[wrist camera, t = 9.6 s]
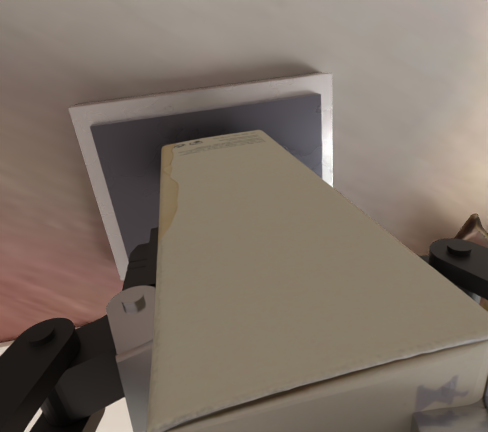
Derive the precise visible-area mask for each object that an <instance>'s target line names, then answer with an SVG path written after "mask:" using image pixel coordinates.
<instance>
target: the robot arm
mask: <svg viewBox="0 0 488 432" xmlns="http://www.w3.org/2000/svg"><path fill="white" fill-rule="evenodd" d="M158 230H159V227H157V228H151V232H150V240H149V243H145V244H140V245H137V246H136V248H135V249H134V250H133V251H132V252H131V253H130V257H129V264H128V266H127V271H126V275H125V280H124V285H123V289H122V292H120V293H118V294H117V295H116V296H114V297H113V298H112V299H111V300H110V301H109V303H108V305H107V308H106V312H107V315H105V316H104V317H102V318H100V319H98V320H96V321H94V322H92V323H89V324H87V325H84V326H82V327H80V328H77V329H75V327H74V324H73V322H72V321H71V320H69V319H66V318H54V319H49V320H45V321H43V322H40V323H38V324H36V325H34V326H32V327H30V328H29V329H27V330H26V331H24V332H23V333H22V334H21V335H20V336H19V337H18V338H17V339H16V340H15V341H14V342H13V343H12V344H11V345H10V346H9V347H8V348H7V349H6V350H5V351H4V353H3V354H2V355H1V356H0V432H24V431H25V429H26V427H27V426H28V424H29V423H30V422H31V420H32V419H33V417H34V416H35V414H36V413H37V411H38V410H39V408H41V410H42V414H41V415H40V417H39V418H38V419H37V421H36V422H35V424H34V425H33V427H32V428H31V430H30V431H29V432H95V431H96V429H97V427H98V425H99V423H100V421H101V419H102V417H103V415H104V413H105V408H106V407H107V406H109V405H111V404H113V403H114V402H116V401H118V400H120V399H122V398H124V397H125V399H126V403H127V408H128V412H129V416H130V420H131V424H132V428H133V432H147V418H148V404H149V391H150V378H151V364H152V349H153V335H154V314H155V294H156V272H157V253H158ZM419 257H420V258H421V259H422V260H424V261H425V262H426V263H428V264H429V265H430V266H431V267H433V268H434V269H435V270H437V271H438V272H439V273H440V274H442V275H443V276H444V277H445V278H447V279H448V280H449V281H450V282H452V283H453V284H454V285H455V286H457V287H458V288H459V289H460V290H462V291H463V292H464V293H465V294H467V295H468V296H469V297H470V298H472V299H473V300H474V301H475V302H476V303H478V304H480V299H481V297H482V298H484V299H486V300H488V248H486V247H484V246H481V245H479V244H476V243H473V242H470V241H467V240H462V239H441V240H438V241H435V242H433V243H432V244H431V246H430V253H429V256H419ZM410 432H488V396H483V397H482V398H481V399H480V400H479V401H478V402H475V403H473V404H470V405H465V406H458V407H448V408H439V409H433V410H426V411H420V412H414V413H413V414H412V421H411V429H410Z"/></svg>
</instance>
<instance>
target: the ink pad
mask: <svg viewBox="0 0 488 432" xmlns="http://www.w3.org/2000/svg"><path fill="white" fill-rule="evenodd" d="M68 110H69V113H70V116H71V119H72V123H73V126H74V129H75V132H76V136H77V139H78V142H79V145H80V149H81V152H82V155H83V158H84V162H85V165H86V168H87V171H88V175H89V178H90V181H91V184H92V188H93V191H94V194H95V197H96V201H97V204H98V207H99V210H100V214H101V217H102V220H103V223H104V227H105V230H106V233H107V236H108V240H109V243H110V246H111V249H112V253H113V256H114V259H115V262H116V266H117V269H118V272H119V275H120V279H121V281H122V280H125V275H126V271H127V266H128V264H129V257H130V253H131V252H132V251H133V250H134V249H135V248H136V246H137V245H140V244H145V243H149V240H150V232H151V228H157V227H159V209H160V178H161V149H162V147H163V146H165V145H170V144H175V143H180V142H185V141H190V140H196V139H201V138H207V137H214V136H220V135H226V134H233V133H240V132H248V131H255V130H261V131H263V132H264V133H266V134H267V135H268V136H270V137H271V138H272V139H273V140H274V141H276V142H277V143H278V144H279V145H281V146H282V147H283V148H284V149H285V150H287V151H288V152H289V153H290V154H292V155H293V156H294V157H296V158H297V159H298V160H299V161H300V162H302V163H303V164H304V165H306V166H307V167H308V168H309V169H310V170H312V171H313V172H314V173H315V174H317V175H318V176H319V177H320V178H321V179H323V180H324V181H325V182H326V183H328V184H329V185H330V186H332V187H333V151H332V73H324V72H319V73H312V74H304V75H296V76H289V77H281V78H274V79H266V80H258V81H251V82H243V83H235V84H228V85H220V86H213V87H205V88H197V89H190V90H182V91H175V92H167V93H159V94H152V95H144V96H136V97H129V98H121V99H114V100H106V101H98V102H91V103H83V104H76V105H74V106H72V107H69V108H68Z"/></svg>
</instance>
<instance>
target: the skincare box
mask: <svg viewBox="0 0 488 432" xmlns="http://www.w3.org/2000/svg"><path fill="white" fill-rule="evenodd" d="M483 396H488V312H487V311H486V310H485V309H484V308H483V307H481V306H480V305H479V304H478V303H476V302H475V301H474V300H473V299H472V298H470V297H469V296H468V295H467V294H465V293H464V292H463V291H462V290H460V289H459V288H458V287H457V286H455V285H454V284H453V283H452V282H450V281H449V280H448V279H447V278H445V277H444V276H443V275H442V274H440V273H439V272H438V271H437V270H435V269H434V268H433V267H431V266H430V265H429V264H428V263H426V262H425V261H424V260H422V259H421V258H420V257H419V256H417V255H416V254H415V253H414V252H412V251H411V250H410V249H409V248H407V247H406V246H405V245H403V244H402V243H401V242H400V241H399V240H397V239H396V238H395V237H394V236H392V235H391V234H390V233H389V232H387V231H386V230H385V229H384V228H383V227H381V226H380V225H379V224H378V223H377V222H375V221H374V220H373V219H371V218H370V217H369V216H367V215H366V214H365V213H364V212H363V211H362V210H361V209H359V208H358V207H357V206H355V205H354V204H353V203H352V202H350V201H349V200H348V199H347V198H346V197H344V196H343V195H342V194H340V193H339V192H338V191H337V190H335V189H334V188H333V187H332V186H330V185H329V184H328V183H326V182H325V181H324V180H323V179H321V178H320V177H319V176H318V175H317V174H315V173H314V172H313V171H312V170H310V169H309V168H308V167H307V166H306V165H304V164H303V163H302V162H300V161H299V160H298V159H297V158H296V157H294V156H293V155H292V154H290V153H289V152H288V151H287V150H285V149H284V148H283V147H282V146H281V145H279V144H278V143H277V142H276V141H274V140H273V139H272V138H271V137H270V136H268V135H267V134H266V133H264V132H263V131H261V130H255V131H248V132H240V133H233V134H226V135H220V136H214V137H207V138H201V139H196V140H190V141H185V142H180V143H175V144H170V145H165V146H163V147H162V149H161V178H160V209H159V230H158V253H157V272H156V294H155V314H154V335H153V349H152V364H151V378H150V391H149V404H148V418H147V432H410V429H411V421H412V414H413V413H414V412H420V411H426V410H433V409H439V408H448V407H458V406H465V405H470V404H473V403H475V402H478V401H479V400H480V399H481V398H482V397H483Z"/></svg>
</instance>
